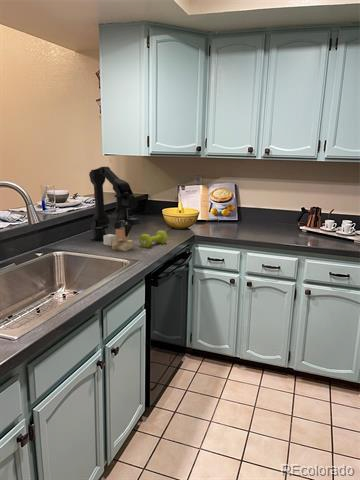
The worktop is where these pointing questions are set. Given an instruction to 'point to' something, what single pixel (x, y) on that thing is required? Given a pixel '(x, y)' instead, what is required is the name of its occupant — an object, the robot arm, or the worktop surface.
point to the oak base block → (122, 244)
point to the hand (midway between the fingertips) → (122, 236)
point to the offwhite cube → (109, 239)
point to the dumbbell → (153, 239)
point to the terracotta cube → (121, 233)
